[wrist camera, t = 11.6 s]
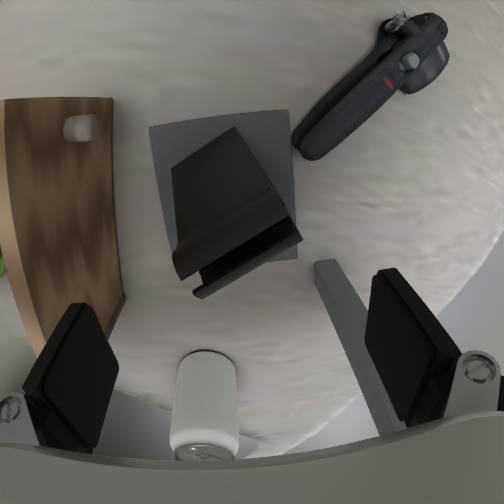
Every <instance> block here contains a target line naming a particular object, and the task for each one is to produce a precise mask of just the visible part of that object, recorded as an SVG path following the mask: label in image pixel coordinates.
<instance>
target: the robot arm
mask: <svg viewBox="0 0 504 504" xmlns="http://www.w3.org/2000/svg"><path fill="white" fill-rule="evenodd" d="M364 341H365V346H366V348H367V350H368V353H369V355H370V357H371V359H372V361H373V363H374V365H375V368H376V370H377V372H378V374H379V376H380V379H381V381H382V383H383V385H384V387H385V390H386V392H387V394H388V396H389V399H390V401H391V403H392V405H393V408H394V410H395V412H396V415H397V417H398V419H399V420H400V421H401V422H402V421H404V422H405V425H406V427H407V429H404V430H400V431H397V432H393V433H389V434H386V435H382V436H378V437H374V438H370V439H366V440H362V441H358V442H354V443H349V444H344V445H339V446H335V447H330V448H324V449H319V450H313V451H308V452H301V453H294V454H287V455H278V456H270V457H260V458H249V459H236V460H216V461H163V460H142V459H128V458H118V457H108V456H100V455H93V454H92V450H93V448H95V447H96V446H97V444H98V440H99V437H100V433H101V429H102V425H103V422H104V418H105V415H106V411H107V407H108V404H109V401H110V398H111V394H112V391H113V388H114V385H115V381H116V378H117V375H118V372H119V365H118V361H117V359H116V357H115V355H114V353H113V351H112V349H111V347H110V345H109V343H108V341H107V338H106V336H105V334H104V332H103V330H102V327H101V325H100V323H99V321H98V318H97V316H96V314H95V311H94V309H93V307H92V306H89V305H88V304H87V303H86V302H80V303H71V304H70V305H69V306H68V308H67V309H66V311H65V313H64V314H63V316H62V317H61V319H60V321H59V322H58V324H57V326H56V327H55V329H54V331H53V332H52V334H51V336H50V337H49V339H48V341H47V342H46V344H45V346H44V348H43V349H42V351H41V353H40V355H39V356H38V358H37V360H36V362H35V364H34V366H33V367H32V369H31V371H30V373H29V375H28V377H27V379H26V381H25V383H24V385H23V386H22V388H23V390H24V391H25V395H24V397H23V396H22V395H21V394H19V393H9V394H6V395H4V396H3V397H1V398H0V504H504V376H501V372H500V366H499V364H498V362H497V361H496V360H495V359H494V357H492V356H491V355H490V354H488V353H486V352H483V351H478V350H473V351H468V352H465V353H463V354H462V353H461V352H460V350H459V349H458V347H457V346H456V344H455V343H454V341H453V340H452V339H451V337H450V336H449V335H448V333H447V332H446V331H445V329H444V328H443V327H442V325H441V324H440V323H439V321H438V320H437V319H436V317H435V316H434V315H433V313H432V312H431V311H430V309H429V308H428V307H427V306H426V304H425V303H424V302H423V301H422V299H421V298H420V297H419V296H418V294H417V293H416V292H415V291H414V289H413V288H412V287H411V286H410V284H409V283H408V282H407V281H406V280H405V278H404V277H403V276H402V275H401V274H400V272H399V271H398V270H397V269H396V268H389V269H383V270H379V271H378V272H377V275H374V276H373V278H372V286H371V294H370V302H369V310H368V317H367V324H366V330H365V337H364Z"/></svg>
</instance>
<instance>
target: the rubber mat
mask: <svg viewBox="0 0 504 504" xmlns="http://www.w3.org/2000/svg"><path fill="white" fill-rule="evenodd" d="M234 126H235V128H236V129H237V131H238V132H239V134H240V135H241V137H242V138H243V140H244V141H245V143H246V144H247V146H248V147H249V149H250V150H251V152H252V153H253V155H254V156H255V158H256V160H257V161H258V163H259V164H260V166H261V167H262V169H263V170H264V172H265V174H266V175H267V177H268V178H269V180H270V181H271V183H272V184H273V186H274V188H275V189H276V191H277V192H278V194H279V196H280V197H281V199H282V200H283V202H284V204H285V205H286V207H287V208H288V210H289V212H290V213H291V215H292V217H293V219H294V222H295V225H296V215H295V197H294V181H293V166H292V152H291V139H290V127H289V115H288V110H274V111H262V112H251V113H241V114H232V115H223V116H215V117H208V118H201V119H194V120H188V121H182V122H176V123H170V124H164V125H159V126H154V127H149V133H150V140H151V146H152V153H153V159H154V165H155V171H156V176H157V182H158V187H159V193H160V198H161V203H162V209H163V214H164V219H165V224H166V228H167V233H168V238H169V243H170V247H171V252H172V253H173V251H174V250H175V248H176V247H177V242H178V237H177V228H176V218H175V209H174V198H173V187H172V175H171V168H173V167H174V166H175V165H177V164H178V163H180V162H181V161H182V160H184V159H185V158H187V157H188V156H190V155H191V154H193V153H194V152H195V151H197V150H198V149H200V148H201V147H203V146H204V145H206V144H207V143H209V142H210V141H212V140H213V139H215V138H216V137H218V136H219V135H221V134H223V133H224V132H226V131H227V130H229V129H230V128H232V127H234ZM289 259H297V244H296V245H294V246H292V247H291V248H289V249H287V250H286V251H284V252H282V253H281V254H279V255H277V256H276V257H274V258H272V259H270V260H269V261H267V262H272V261H280V260H289ZM176 273H177V272H176Z"/></svg>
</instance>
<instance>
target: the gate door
mask: <svg viewBox="0 0 504 504" xmlns="http://www.w3.org/2000/svg"><path fill="white" fill-rule="evenodd" d="M111 113H112V98H99V97H40V98H20V99H6V100H1V101H0V246H1V250H2V254H3V258H4V263H5V266H6V270H7V274H8V278H9V281H10V285H11V288H12V291H13V295H14V298H15V301H16V304H17V307H18V310H19V313H20V316H21V319H22V322H23V324H24V327H25V330H26V332H27V335H28V338H29V340H30V343H31V345H32V348H33V350H34V352H35V355H36V357H37V358H38V356H39V355H40V353H41V351H42V349H43V348H44V346H45V344H46V342H47V341H48V339H49V337H50V336H51V334H52V332H53V331H54V329H55V327H56V326H57V324H58V322H59V321H60V319H61V317H62V316H63V314H64V313H65V311H66V309H67V308H68V306H69V305H70V304H71V303H80V302H86V303H87V304H88V305H89V306H92V307H93V309H94V311H95V314H96V316H97V318H98V321H99V323H100V325H101V327H102V330H103V332H104V334H105V336H106V338H107V341H108V339H109V337H110V335H111V332H112V330H113V328H114V325H115V323H116V321H117V318H118V316H119V314H120V312H121V309H122V307H123V305H124V303H125V296H124V295H123V292H122V285H121V278H120V270H119V262H118V254H117V244H116V234H115V222H114V209H113V192H112V167H111Z"/></svg>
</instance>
